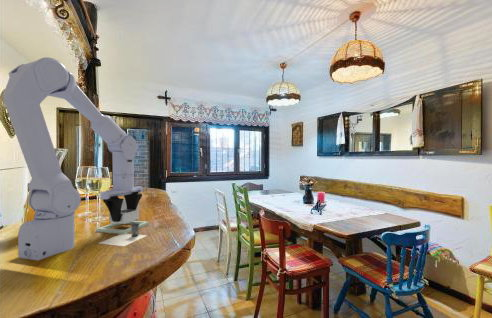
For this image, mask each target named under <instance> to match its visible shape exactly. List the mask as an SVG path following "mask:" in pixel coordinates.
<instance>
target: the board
mask: <svg viewBox="0 0 492 318" xmlns="http://www.w3.org/2000/svg"><path fill="white" fill-rule="evenodd" d="M145 237H147V234H146V235H145V234H144V235H143V234H139V236H137V237H132V233H126V234H117V235H115V236H112V237H109V238H108V239H105V240H102V241H100V242H98V244H99V245H108V246H109V245H110V246H118V247H126V246H129V245H130V244H132V243H134V242H137V241H139V240H141V239H143V238H145Z"/></svg>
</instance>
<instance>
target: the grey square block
mask: <svg viewBox="0 0 492 318" xmlns="http://www.w3.org/2000/svg"><path fill="white" fill-rule="evenodd" d="M138 220H139V219H138V210H134V209H121V217H120V221H119V222H113V221H112V218H111V215H110V214H109V224H112V223H119V224H120V225H125V224H126V223H129V222H131V221H138Z"/></svg>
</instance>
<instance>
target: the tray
mask: <svg viewBox="0 0 492 318" xmlns="http://www.w3.org/2000/svg"><path fill="white" fill-rule="evenodd" d="M131 223H140V225H139V229H142V228H144V227H146V226H148V225H149V224H150V223H149V221H143V220H142V221H140V220H134V221H131V222H129V223H126V224H127V225H131ZM120 225H121V224H119V223H109V224H107V225H104V226H100V227H97V228H96V232H98V233H106V234H107V233H109V234H117V235H120V234H130V233H132V230H131V227H127V228H126V229H118V228H114V227H116V226H120Z"/></svg>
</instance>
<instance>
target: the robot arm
mask: <svg viewBox="0 0 492 318" xmlns="http://www.w3.org/2000/svg"><path fill="white" fill-rule="evenodd" d="M8 76H9V78H8V80H7V83H6V86H5V89H4V91H3V93H2V100H3V103H4V106H5V109H6V111H7V113H8V117H9V119H10V123H11V124H12V128H13V130H14V132H15V136H16V139H17V142H18V144H19V148H20V150H21V153H22V155H23V158H24V161H25V164H26V166H27V169H28V171H29V175H30V177H31V179H30V181H29V182H28V183H29V185H28V184H27V189H28V188H29V191H30V195H29V199H28V198H27V203H28V202H29V206H30V207H31V208H32V209H33V210H34V211H35V215H34V219H33V220H31V221H28V220H27V221H25V222H23V223H22V224H21V225H20V226H19V229H18V235H17V239H18V241H17V242H18V243H17V246H18V249H17V250H18V256H17V257H18V258H19V259H26V260H32V261H40V260H43V259H46V258H48V257H52V256H55V255H58V254H60V253H65V252H67V251H70V250H72V249H73V248H74V247H75V215H76V211H77V210H78V208H79V207H80V205H81V201H82V197H81V194H80V192H79V191H78V190H77V189H76V188H75V187H74V185H73V183H72V180H71V179H69V178H68V176H67V175H65V174H64V173H63V171H62V169H61V165H60V162H59V160H58V155H57V153H56V151H55V147H54V144H53V141H52V137H51V134H50V132H49V128H48V126H47V122H46V119H45V116H44V114H43V111H42V110H43V109H42V108H41V104H42V102H44V101H45V99H46V98H47V97H48V96H49V97H54V98H57V99H63V100H65V101H66V102H67V103H68V104H70V105H71V106H72V107H73V108H74V109H75V110H77V111H78V112H79V113H80V114H81V115H82V116H84V118H86V119H87V120H88V121H89V122H90V127H91V129H92V131H93V132H94V133H95V134H97V135H98V136H99V138H101V139H102V140H103V141H104V142H105V143H106V146H107V149H108V151H109V152H110V153H111V154H112V189H108V190H106V191H101V192H100V200H103V203H104V204H105V206H106V207H107V210H108V211H109V216H110V215H111V218H112V221H113V222H119V221H120V217H121V207H122V203H123V200H124V199H125V201H126V205H127V209H134V210H136V209H137V205H138V203H139V204H140V201H141V198H142V197H143V192H144V189H143V186H141V185H138V186H137V185H136V186H135V181H134V180H135V178H134V177H135V175H134V173H135V171H134V170H135V167H134V166H135V165H134V164H135V162H134V159H135V158H136V153H137V151H138V148H139V144H137V140H136V139H135V138H134V137H133V136H132V135H128V134H127V133H126V131H125V130H123V129H122V128H121V127H120V126H119V124H117V122H115V121H116V120H115V119H114V117H112V116H110V115H107V114H102V112H101V111H99V109H98V107H96V105H95V104H94V103H93V102H92V101H91V99H90V98H89V97H88V96H87V95H86V93H85V92H84V91H83V90H82V89H81V87H79V85H78V84H77V81H76V77H75V76H74V75H73V73H71V72H70V71H69V70H68V69H67V68H66V66H65V65H64V64H63V63H62V62H61V61H59V60H58V59H55V58H53V57H49V56H48V57H40V58H39V59H37V60H34V61H30V62H28V63H23V64H20V65H18V66H16V67H15V68H14V69H12V70H11V71H9V72H8ZM120 197H123V198H120Z"/></svg>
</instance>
